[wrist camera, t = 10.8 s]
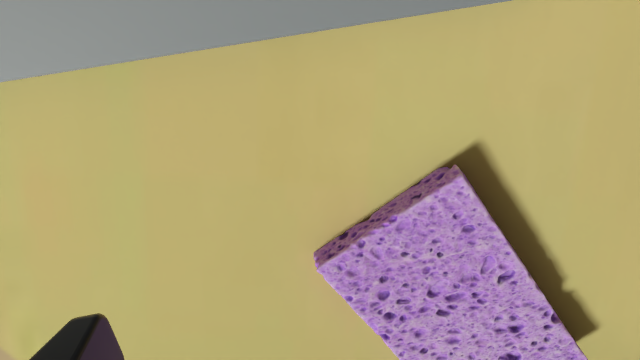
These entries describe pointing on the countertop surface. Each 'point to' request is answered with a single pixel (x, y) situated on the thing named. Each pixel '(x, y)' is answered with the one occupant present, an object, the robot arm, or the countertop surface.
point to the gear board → (171, 27)
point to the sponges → (443, 279)
